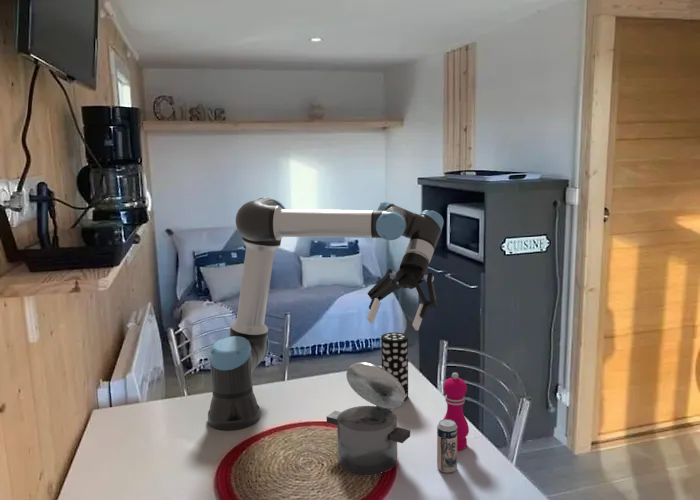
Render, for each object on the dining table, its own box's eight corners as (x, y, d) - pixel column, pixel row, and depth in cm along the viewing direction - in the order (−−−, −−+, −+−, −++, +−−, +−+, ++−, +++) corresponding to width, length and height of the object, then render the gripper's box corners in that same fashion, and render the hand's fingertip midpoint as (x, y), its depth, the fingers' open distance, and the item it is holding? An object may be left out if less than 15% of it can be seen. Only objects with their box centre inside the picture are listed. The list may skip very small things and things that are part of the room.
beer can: (444, 476, 138) (444, 429, 136) (433, 466, 142) (433, 420, 140) (460, 471, 140) (461, 424, 138) (450, 462, 144) (450, 416, 142)
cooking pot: (315, 461, 146) (313, 420, 144) (347, 436, 158) (346, 398, 156) (391, 486, 134) (391, 442, 132) (420, 457, 146) (419, 416, 145)
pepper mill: (468, 452, 148) (469, 378, 145) (440, 450, 150) (440, 377, 146) (468, 439, 155) (469, 368, 152) (441, 437, 157) (441, 367, 153)
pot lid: (338, 361, 146) (343, 352, 148) (357, 403, 156) (362, 395, 157) (394, 372, 138) (399, 363, 139) (410, 416, 147) (414, 407, 149)
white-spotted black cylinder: (409, 402, 179) (409, 340, 176) (382, 402, 179) (381, 341, 176) (407, 391, 187) (406, 332, 184) (381, 392, 187) (380, 332, 184)
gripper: (462, 270, 158) (439, 338, 148) (382, 263, 171) (357, 325, 161) (454, 254, 153) (430, 323, 143) (373, 248, 166) (346, 311, 156)
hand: (391, 324), depth 152 cm, fingers open, 13 cm apart
